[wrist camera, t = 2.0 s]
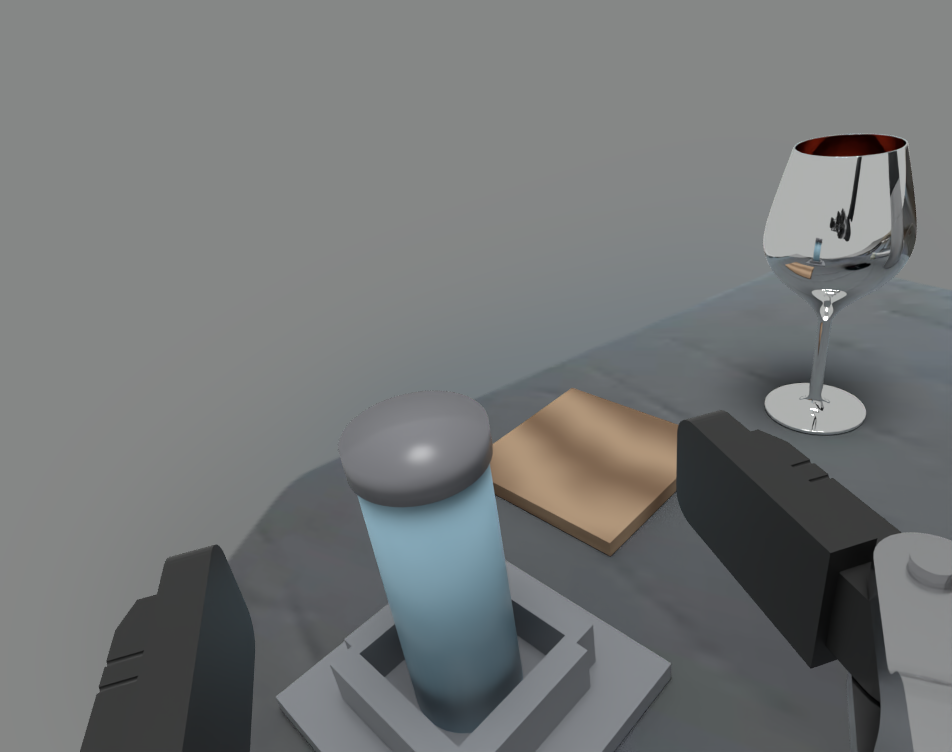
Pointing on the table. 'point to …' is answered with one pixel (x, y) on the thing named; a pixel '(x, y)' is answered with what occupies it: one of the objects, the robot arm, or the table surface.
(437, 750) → the cartridge housing
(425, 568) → the filter cartridge
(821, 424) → the wineglass
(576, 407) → the light brown wooden board
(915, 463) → the table surface
